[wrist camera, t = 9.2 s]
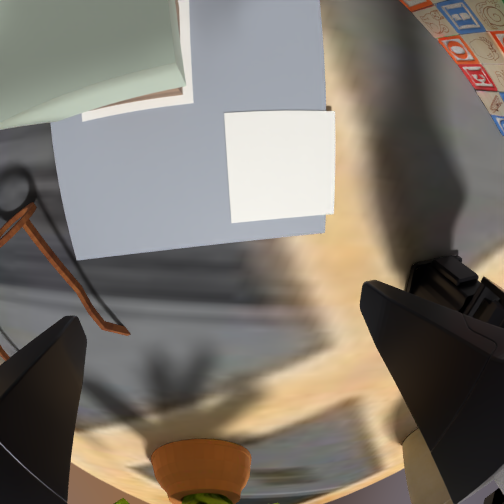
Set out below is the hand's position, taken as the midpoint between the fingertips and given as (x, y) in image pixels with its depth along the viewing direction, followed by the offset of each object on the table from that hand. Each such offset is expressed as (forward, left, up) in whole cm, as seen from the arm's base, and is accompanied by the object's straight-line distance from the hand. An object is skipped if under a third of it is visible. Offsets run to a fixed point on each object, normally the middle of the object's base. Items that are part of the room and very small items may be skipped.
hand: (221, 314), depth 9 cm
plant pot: (-43, -31, -13) cm, 55 cm away
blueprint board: (+7, +1, -12) cm, 14 cm away
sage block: (+10, +4, -6) cm, 12 cm away
